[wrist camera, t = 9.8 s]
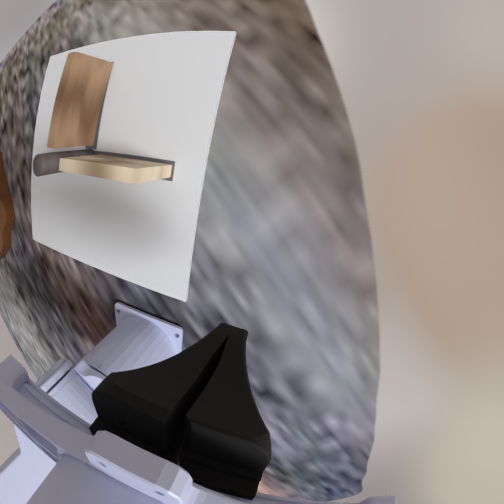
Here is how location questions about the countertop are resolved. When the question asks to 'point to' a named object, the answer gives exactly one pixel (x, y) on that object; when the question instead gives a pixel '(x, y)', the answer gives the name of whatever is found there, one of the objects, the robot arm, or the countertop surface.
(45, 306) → the countertop surface
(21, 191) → the countertop surface
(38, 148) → the card
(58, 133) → the brown wooden board
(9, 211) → the plant
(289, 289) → the countertop surface
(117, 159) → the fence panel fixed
